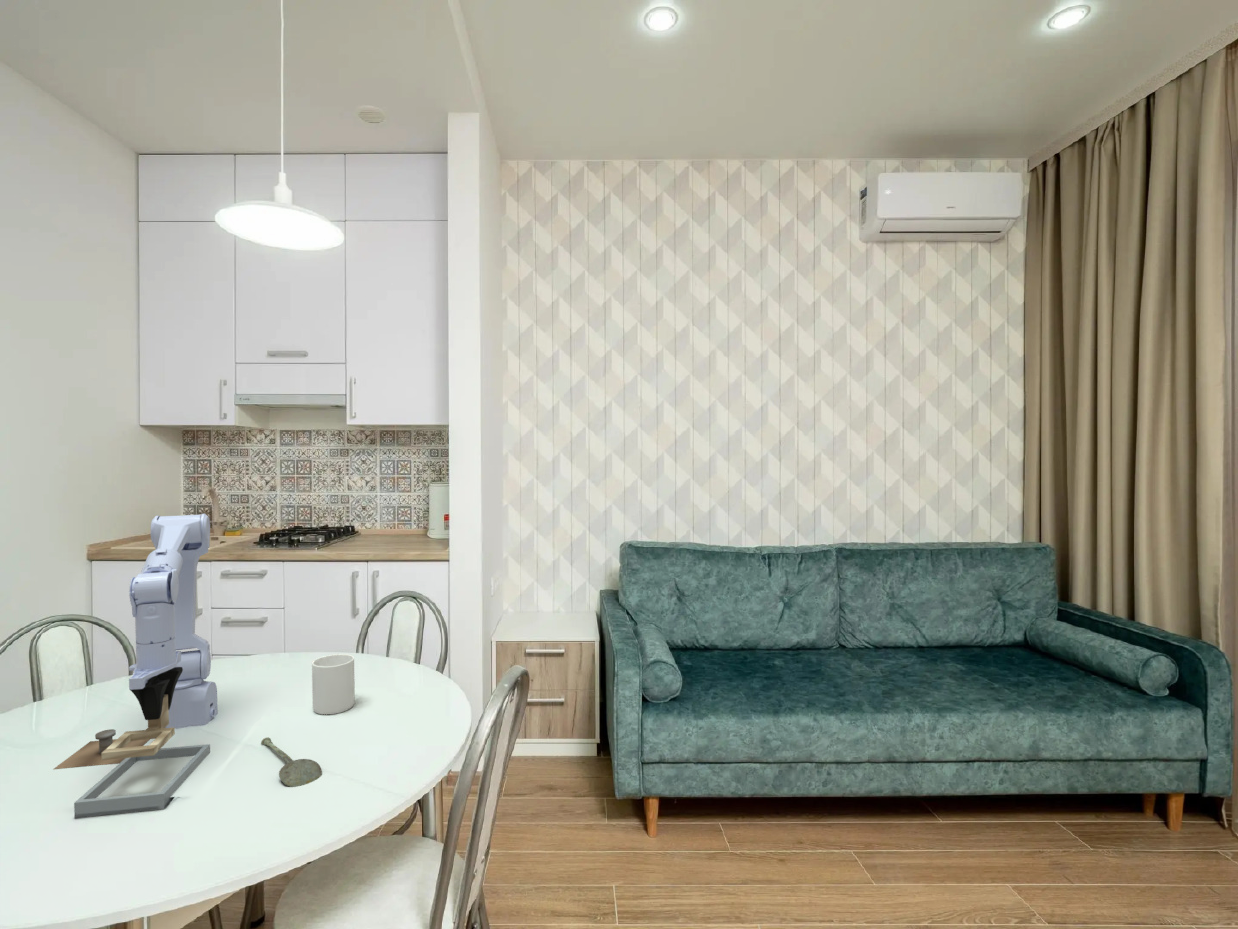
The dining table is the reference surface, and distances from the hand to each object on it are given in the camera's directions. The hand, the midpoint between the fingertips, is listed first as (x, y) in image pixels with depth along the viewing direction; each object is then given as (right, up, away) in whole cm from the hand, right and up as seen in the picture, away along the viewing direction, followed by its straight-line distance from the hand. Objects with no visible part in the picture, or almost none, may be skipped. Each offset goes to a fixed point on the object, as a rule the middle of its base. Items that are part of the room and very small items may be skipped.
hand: (157, 714), depth 115 cm
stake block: (-14, -10, +6) cm, 18 cm away
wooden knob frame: (+1, -3, -4) cm, 5 cm away
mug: (+18, -10, +30) cm, 36 cm away
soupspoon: (+21, -11, +4) cm, 24 cm away
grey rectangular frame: (+1, -11, -4) cm, 11 cm away
